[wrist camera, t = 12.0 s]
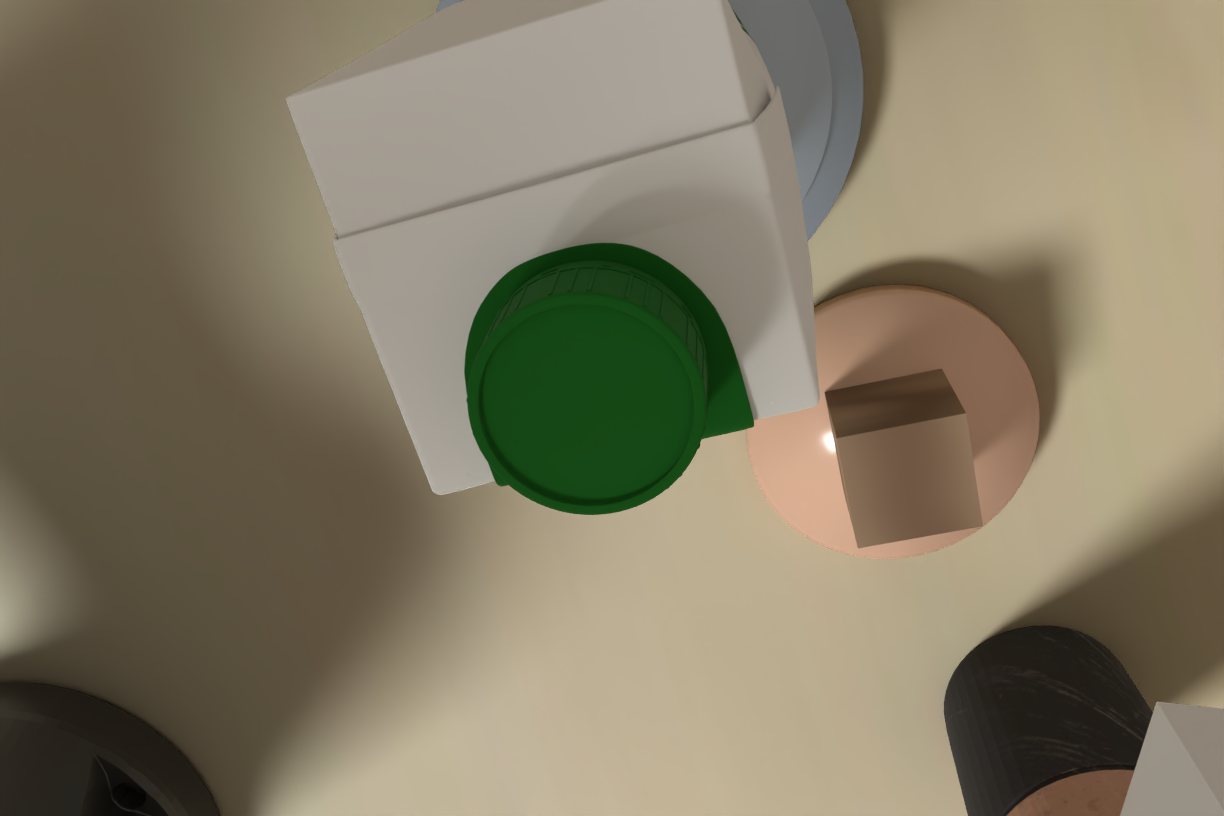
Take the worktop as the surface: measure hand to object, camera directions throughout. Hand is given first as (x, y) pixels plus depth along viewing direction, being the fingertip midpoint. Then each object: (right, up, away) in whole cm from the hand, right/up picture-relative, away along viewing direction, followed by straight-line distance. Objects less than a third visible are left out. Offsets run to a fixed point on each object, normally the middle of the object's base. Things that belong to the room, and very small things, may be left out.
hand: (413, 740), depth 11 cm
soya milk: (+2, +13, +26) cm, 29 cm away
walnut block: (+12, +2, +30) cm, 32 cm away
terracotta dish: (+12, +3, +31) cm, 33 cm away
